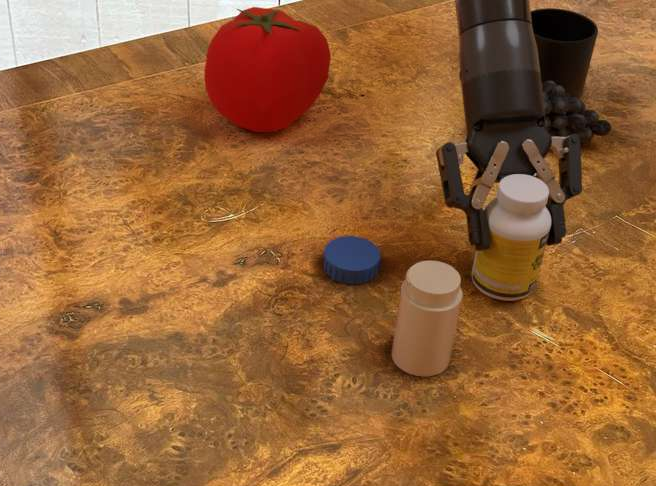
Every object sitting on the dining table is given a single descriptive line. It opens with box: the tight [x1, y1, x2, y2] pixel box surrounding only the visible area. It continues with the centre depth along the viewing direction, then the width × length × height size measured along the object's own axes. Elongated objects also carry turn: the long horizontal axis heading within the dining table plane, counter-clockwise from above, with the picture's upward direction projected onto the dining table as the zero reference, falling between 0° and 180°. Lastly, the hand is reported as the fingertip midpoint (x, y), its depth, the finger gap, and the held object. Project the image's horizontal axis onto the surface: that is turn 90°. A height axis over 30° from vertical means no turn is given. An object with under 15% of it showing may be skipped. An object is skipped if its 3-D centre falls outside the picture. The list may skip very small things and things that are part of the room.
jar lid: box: [322, 235, 382, 285], centre depth 108 cm, size 6×6×2 cm
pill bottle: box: [471, 174, 551, 302], centre depth 104 cm, size 6×6×12 cm
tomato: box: [204, 6, 331, 133], centre depth 126 cm, size 16×14×14 cm
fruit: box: [541, 81, 612, 144], centre depth 125 cm, size 9×8×15 cm
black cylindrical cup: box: [530, 7, 599, 100], centre depth 136 cm, size 9×12×9 cm
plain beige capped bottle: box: [391, 260, 464, 378], centre depth 96 cm, size 5×5×10 cm
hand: (519, 246), depth 102 cm, fingers open, 6 cm apart
